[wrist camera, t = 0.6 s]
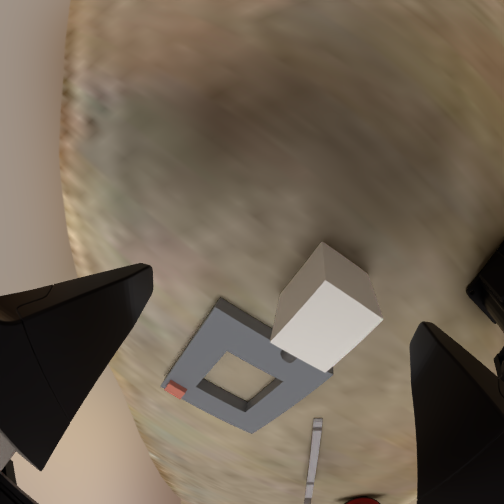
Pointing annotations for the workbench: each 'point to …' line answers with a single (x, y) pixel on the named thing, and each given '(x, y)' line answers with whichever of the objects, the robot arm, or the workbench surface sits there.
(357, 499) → the headphones
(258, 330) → the socket
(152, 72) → the workbench surface
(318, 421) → the caliper
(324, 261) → the plug
